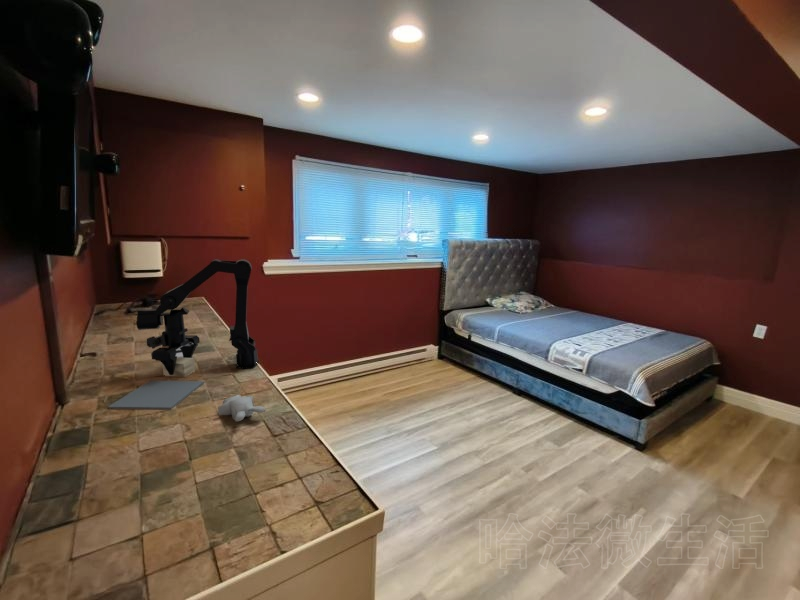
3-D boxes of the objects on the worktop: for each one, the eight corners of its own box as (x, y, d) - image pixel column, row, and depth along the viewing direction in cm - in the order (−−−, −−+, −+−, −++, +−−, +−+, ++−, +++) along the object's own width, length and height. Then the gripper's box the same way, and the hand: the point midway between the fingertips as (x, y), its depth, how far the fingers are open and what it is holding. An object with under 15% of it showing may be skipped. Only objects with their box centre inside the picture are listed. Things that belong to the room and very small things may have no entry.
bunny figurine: (245, 388, 108) (268, 399, 98) (247, 404, 109) (270, 417, 98) (211, 398, 102) (232, 411, 91) (213, 416, 102) (234, 431, 92)
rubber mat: (204, 382, 121) (204, 381, 121) (171, 409, 103) (170, 407, 103) (150, 382, 121) (150, 380, 121) (107, 408, 103) (107, 406, 103)
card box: (195, 371, 131) (194, 358, 130) (185, 377, 126) (183, 363, 125) (174, 370, 132) (173, 357, 131) (163, 376, 126) (162, 362, 126)
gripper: (168, 320, 135) (173, 360, 138) (131, 334, 116) (138, 380, 119) (198, 320, 135) (202, 360, 138) (166, 335, 116) (172, 380, 119)
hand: (179, 369), depth 129 cm, fingers open, 9 cm apart
